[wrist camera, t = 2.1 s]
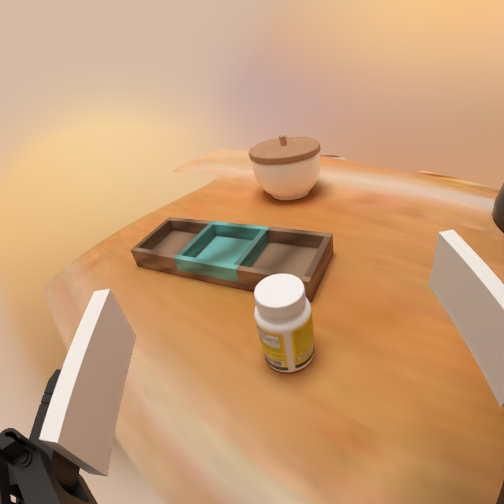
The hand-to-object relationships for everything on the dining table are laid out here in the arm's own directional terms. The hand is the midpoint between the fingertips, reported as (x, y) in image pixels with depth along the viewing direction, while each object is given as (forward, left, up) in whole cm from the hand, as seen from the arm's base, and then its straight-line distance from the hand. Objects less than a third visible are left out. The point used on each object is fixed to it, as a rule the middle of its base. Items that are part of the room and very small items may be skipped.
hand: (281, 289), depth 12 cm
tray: (-21, -19, -17) cm, 33 cm away
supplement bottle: (-9, -5, -17) cm, 20 cm away
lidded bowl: (-43, -18, -17) cm, 49 cm away
